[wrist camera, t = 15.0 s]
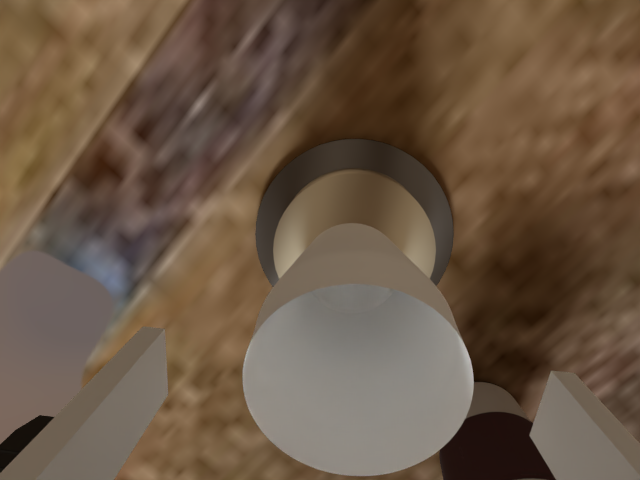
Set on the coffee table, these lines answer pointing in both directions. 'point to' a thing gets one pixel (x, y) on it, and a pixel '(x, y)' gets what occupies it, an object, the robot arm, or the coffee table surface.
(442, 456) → the coffee cup
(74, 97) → the coffee table surface
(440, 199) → the pedestal
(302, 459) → the cup
